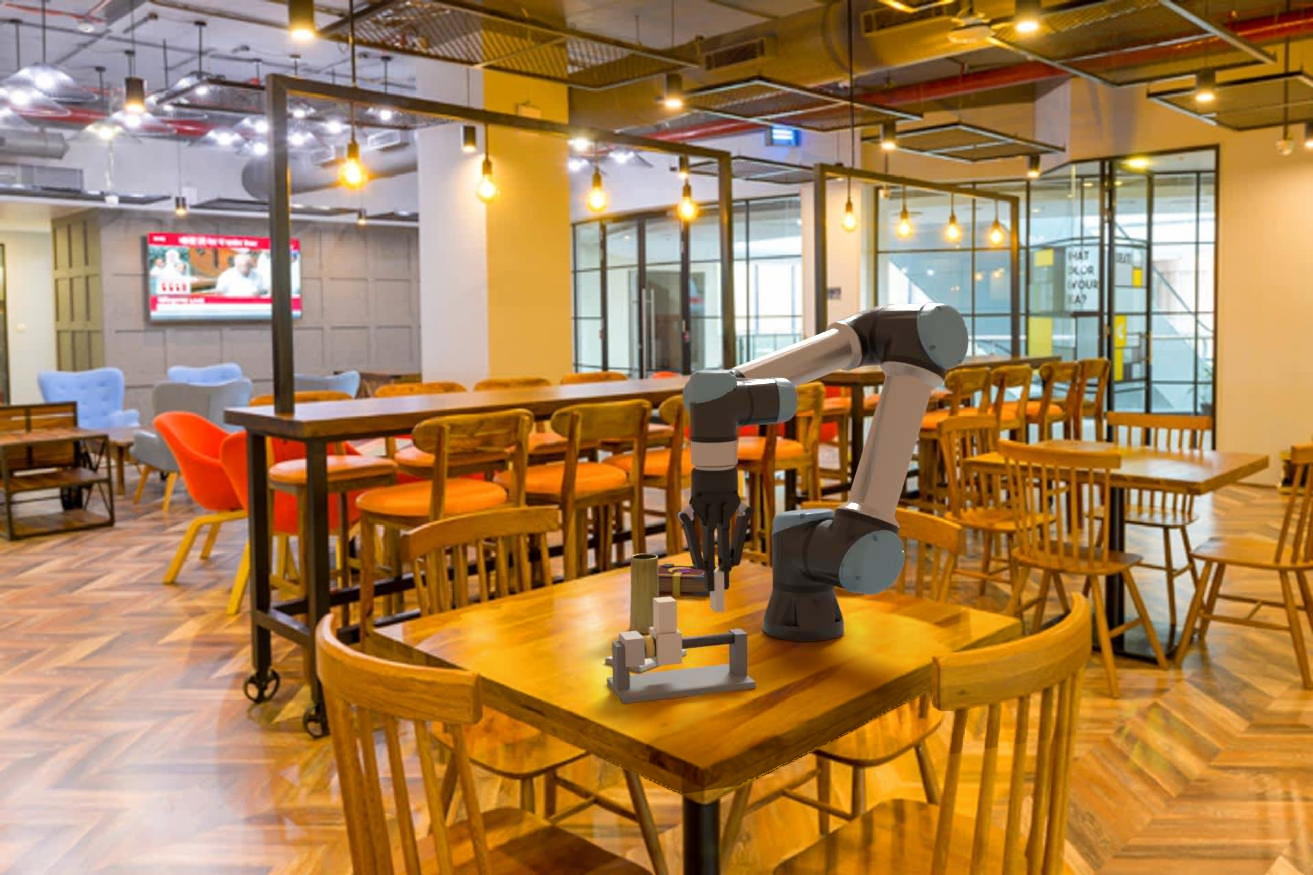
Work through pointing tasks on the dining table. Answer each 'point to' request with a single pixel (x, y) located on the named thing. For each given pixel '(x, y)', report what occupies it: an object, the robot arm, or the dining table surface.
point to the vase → (643, 591)
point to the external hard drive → (648, 665)
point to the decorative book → (681, 580)
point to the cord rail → (681, 681)
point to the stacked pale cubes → (666, 632)
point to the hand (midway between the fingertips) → (717, 609)
